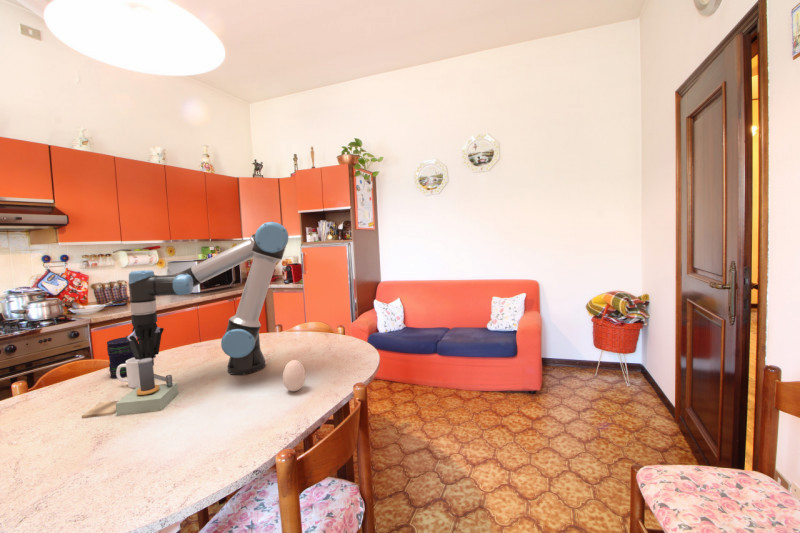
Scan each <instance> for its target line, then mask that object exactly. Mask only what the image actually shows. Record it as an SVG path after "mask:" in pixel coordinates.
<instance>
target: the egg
mask: <svg viewBox="0 0 800 533" xmlns="http://www.w3.org/2000/svg"><path fill="white" fill-rule="evenodd" d="M306 378H307V377H306V370H305V368H304V365H303V364H302V363H301V362H300V361H299V360H296V359H292V360H290V361H288V363H287V364H286V365H285V366H284V369H283V372H282V382H283V385H284V387H285V388H286V389H287V390H288V391H290V392H298V391H299V390H301V389H302V387H303V386H304V385H305V382H306Z"/></svg>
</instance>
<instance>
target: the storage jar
mask: <svg viewBox="0 0 800 533" xmlns="http://www.w3.org/2000/svg"><path fill="white" fill-rule="evenodd" d="M106 346H107V349H106V350H107V355H108V359H109V365H108V366H109V374H110V375H109V376H110V378H111V379H115V380H118V378H117V375H116V370H117V367H118V366H119V365H121V364H126V361H127V360H128V359H131V358H134V355H133V352H132V349H131V346H130V343H129V341H128V340H127V339H126V336H125V337H118V338H114V339H111V340H108V341H107V342H106ZM120 376H121V378H123V379H125V378H127V370H126V367H121V369H120Z"/></svg>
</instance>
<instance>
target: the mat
mask: <svg viewBox="0 0 800 533" xmlns="http://www.w3.org/2000/svg"><path fill="white" fill-rule="evenodd" d="M118 401H119V400H115V401H114V400H113V401H104V402H99V403H97V404H96V405H95V406H93V407H92V408H90V409H89V410H88V411H86V412H84V413H83V414H82V415H81V419H85V418H93V417H102V416H103V417H104V416H113V415H115V414H117V412H116V403H117V402H118Z"/></svg>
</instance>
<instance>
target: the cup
mask: <svg viewBox="0 0 800 533" xmlns="http://www.w3.org/2000/svg"><path fill="white" fill-rule="evenodd" d="M138 361H139V360H136V359H135V357H134V358H131V359H128V360H127V361H126V364H121V365H119V366H118V367H117V370H116V375H117V378H118V379H117V380H119V381H120V382H121V383H127V386H128V387H129V388H132V389H135V388H137V387H140V377H139V367H138ZM121 367H126V370H127V377H126V378H121V376H120V369H121Z"/></svg>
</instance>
